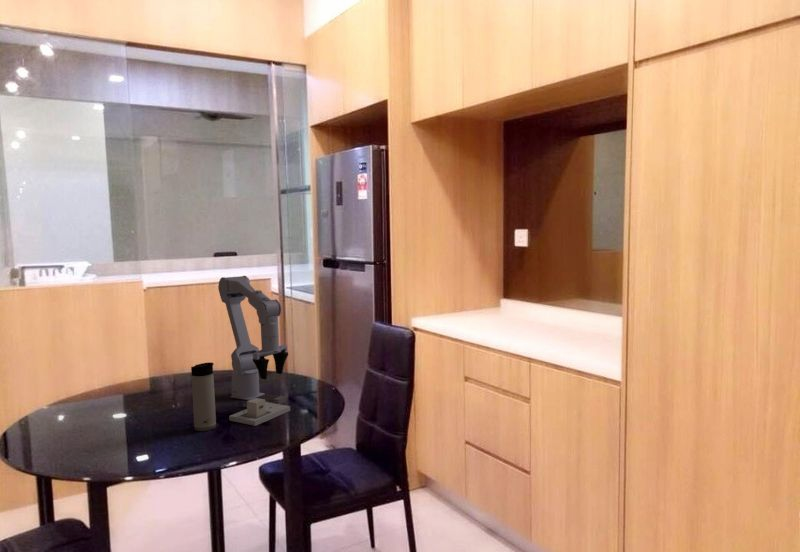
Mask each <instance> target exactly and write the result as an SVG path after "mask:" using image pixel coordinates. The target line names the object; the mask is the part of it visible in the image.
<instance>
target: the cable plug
mask: <svg viewBox="0 0 800 552" xmlns="http://www.w3.org/2000/svg"><path fill="white" fill-rule="evenodd" d="M286 402H287V396H285V395H279V396H278V397H277V398H274V399H273V402H272V403H274V404H280V405H282V404H283V403H286Z"/></svg>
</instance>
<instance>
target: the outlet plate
mask: <svg viewBox="0 0 800 552" xmlns="http://www.w3.org/2000/svg"><path fill="white" fill-rule="evenodd" d="M265 403H266V413H265V414H263V415H261V416H258V417H252V416H248V415H247V408H246V409H243V410H240V411H238V412H235V413H234V414H231V415H229V416H228V417H229V419H228V421H230V422H236V423H240V424H244V425H251V426H255V427H256V426H258V425H260V424H263V423H265V422H268V421H270V420H272V419H274V418H277V417H279V416H282V415H283V414H285V413H289V412H291V406H290V405H286V404H285V405H284V404H274V403H273V402H272V403H269V402H265Z"/></svg>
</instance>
